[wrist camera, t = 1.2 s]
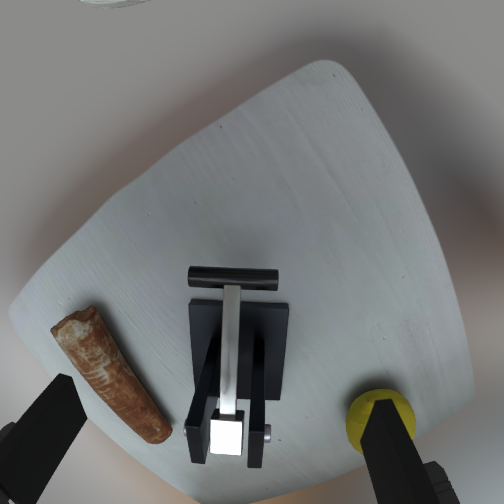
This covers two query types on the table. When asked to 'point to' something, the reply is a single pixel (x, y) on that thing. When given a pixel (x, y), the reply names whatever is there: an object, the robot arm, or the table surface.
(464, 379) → the table surface
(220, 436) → the lever
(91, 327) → the bread
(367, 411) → the lemon
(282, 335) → the bracket
